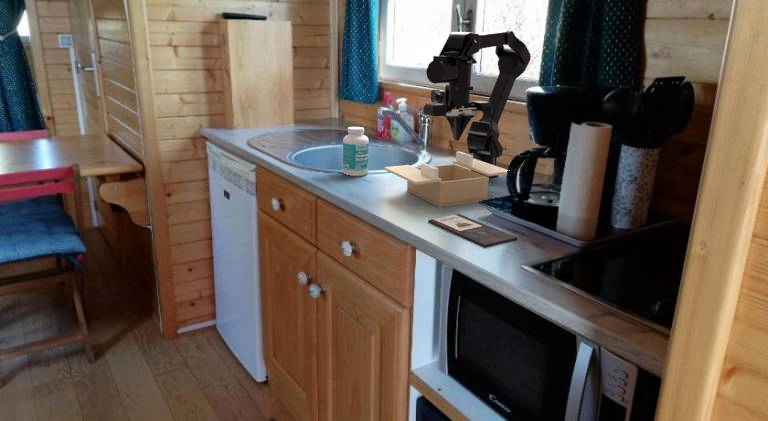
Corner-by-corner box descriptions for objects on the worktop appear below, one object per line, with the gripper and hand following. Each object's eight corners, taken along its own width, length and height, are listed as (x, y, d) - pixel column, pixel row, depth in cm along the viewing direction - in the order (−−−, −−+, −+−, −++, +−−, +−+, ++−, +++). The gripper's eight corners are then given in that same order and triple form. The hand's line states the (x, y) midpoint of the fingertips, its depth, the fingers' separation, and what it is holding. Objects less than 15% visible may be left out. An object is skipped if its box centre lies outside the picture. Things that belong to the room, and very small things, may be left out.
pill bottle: (358, 178, 164) (358, 130, 160) (337, 174, 168) (337, 128, 163) (373, 173, 170) (373, 127, 166) (352, 169, 174) (352, 124, 169)
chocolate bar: (484, 245, 113) (428, 220, 127) (484, 249, 113) (428, 224, 127) (517, 237, 118) (459, 214, 132) (517, 241, 118) (459, 217, 132)
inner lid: (473, 160, 159) (474, 149, 158) (511, 173, 146) (512, 161, 145) (452, 162, 156) (453, 151, 155) (488, 176, 143) (489, 163, 142)
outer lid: (408, 167, 150) (408, 155, 149) (441, 181, 137) (441, 168, 136) (384, 169, 147) (384, 157, 146) (415, 184, 134) (416, 171, 133)
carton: (451, 185, 158) (453, 163, 156) (487, 200, 145) (488, 177, 143) (407, 190, 152) (407, 168, 150) (439, 206, 139) (440, 182, 137)
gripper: (471, 78, 163) (467, 133, 168) (413, 80, 155) (412, 137, 160) (495, 81, 154) (491, 139, 159) (435, 83, 146) (433, 144, 150)
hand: (456, 140), depth 157 cm, fingers closed
